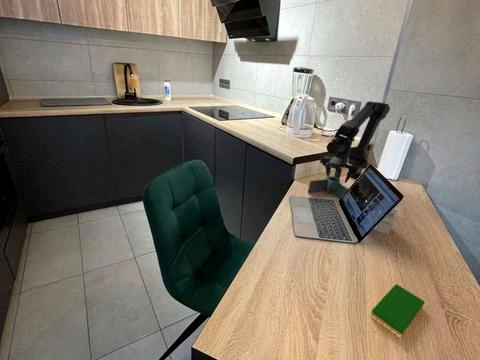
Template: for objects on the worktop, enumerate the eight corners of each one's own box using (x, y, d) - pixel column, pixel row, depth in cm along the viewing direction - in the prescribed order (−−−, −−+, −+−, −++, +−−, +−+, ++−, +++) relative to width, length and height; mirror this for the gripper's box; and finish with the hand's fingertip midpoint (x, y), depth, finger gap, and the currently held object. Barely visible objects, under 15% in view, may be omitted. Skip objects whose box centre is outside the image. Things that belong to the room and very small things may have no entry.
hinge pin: (334, 181, 134) (337, 166, 130) (339, 183, 132) (343, 168, 129) (331, 182, 132) (335, 168, 128) (337, 184, 130) (340, 170, 127)
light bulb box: (390, 226, 99) (399, 202, 94) (388, 235, 94) (398, 210, 89) (360, 217, 104) (367, 193, 99) (357, 225, 99) (365, 200, 94)
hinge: (321, 183, 130) (323, 172, 127) (354, 196, 120) (358, 184, 117) (307, 192, 121) (309, 180, 118) (342, 206, 110) (345, 194, 108)
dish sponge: (368, 316, 64) (371, 310, 62) (393, 289, 72) (396, 283, 71) (399, 339, 59) (403, 332, 58) (421, 308, 67) (425, 301, 66)
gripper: (317, 148, 125) (311, 178, 131) (356, 160, 113) (347, 191, 120) (328, 144, 132) (322, 172, 139) (365, 154, 121) (357, 184, 128)
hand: (336, 180), depth 131 cm, fingers open, 9 cm apart
